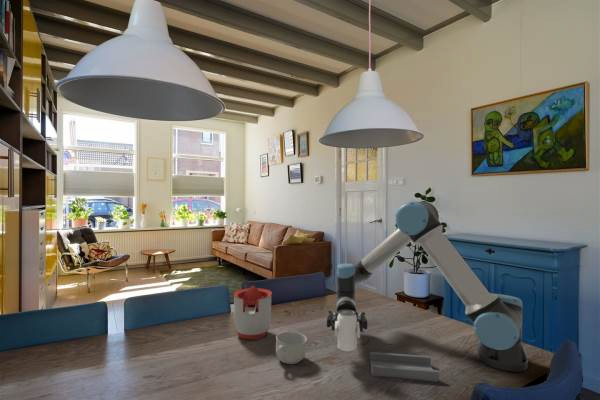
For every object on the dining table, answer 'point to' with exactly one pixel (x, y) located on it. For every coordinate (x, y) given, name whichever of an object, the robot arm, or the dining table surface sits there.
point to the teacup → (290, 347)
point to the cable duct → (402, 366)
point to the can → (347, 331)
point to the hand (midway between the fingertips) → (347, 333)
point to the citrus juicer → (252, 312)
